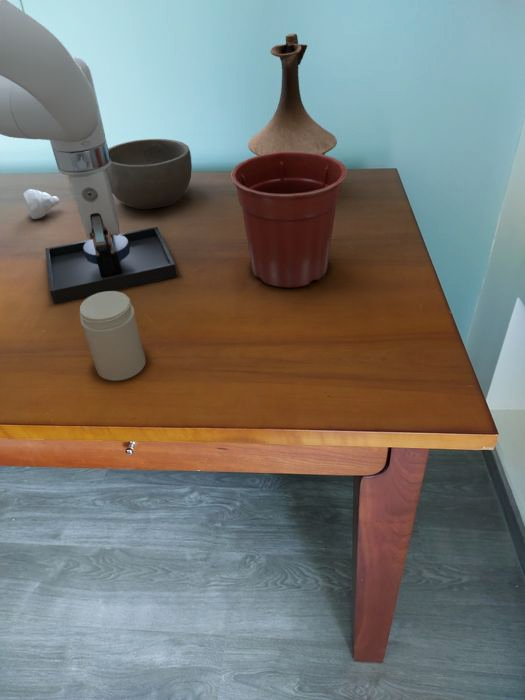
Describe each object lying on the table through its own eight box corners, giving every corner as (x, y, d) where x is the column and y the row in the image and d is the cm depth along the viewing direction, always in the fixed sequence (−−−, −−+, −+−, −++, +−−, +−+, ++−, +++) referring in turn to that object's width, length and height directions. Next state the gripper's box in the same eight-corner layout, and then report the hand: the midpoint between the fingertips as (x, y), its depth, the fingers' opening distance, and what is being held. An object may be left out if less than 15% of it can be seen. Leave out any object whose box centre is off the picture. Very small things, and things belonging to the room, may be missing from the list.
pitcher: (255, 175, 115) (248, 28, 97) (333, 175, 114) (341, 25, 96) (246, 211, 102) (236, 47, 84) (334, 211, 100) (343, 44, 82)
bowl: (174, 176, 117) (167, 129, 111) (211, 203, 105) (205, 153, 99) (99, 195, 110) (87, 147, 104) (129, 227, 99) (118, 175, 92)
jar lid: (130, 240, 89) (128, 231, 88) (129, 261, 83) (127, 252, 82) (87, 245, 88) (85, 236, 87) (84, 267, 83) (81, 257, 82)
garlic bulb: (65, 216, 103) (57, 189, 100) (34, 223, 101) (25, 197, 98) (59, 206, 107) (51, 180, 104) (29, 213, 105) (19, 187, 101)
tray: (54, 304, 80) (49, 291, 78) (49, 260, 90) (45, 248, 89) (177, 276, 85) (175, 264, 83) (159, 238, 95) (157, 226, 93)
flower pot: (219, 265, 87) (208, 169, 77) (296, 234, 94) (296, 142, 84) (280, 310, 77) (277, 206, 66) (361, 271, 84) (371, 172, 73)
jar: (100, 386, 65) (80, 326, 59) (92, 356, 70) (73, 297, 64) (150, 372, 67) (136, 311, 61) (140, 343, 72) (125, 284, 66)
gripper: (112, 174, 70) (137, 287, 81) (106, 134, 83) (129, 236, 94) (53, 182, 68) (88, 296, 80) (57, 140, 81) (86, 243, 93)
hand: (110, 262), depth 87 cm, fingers closed on jar lid, 7 cm apart
